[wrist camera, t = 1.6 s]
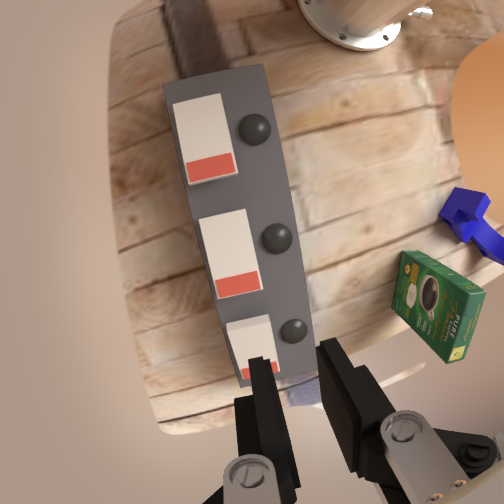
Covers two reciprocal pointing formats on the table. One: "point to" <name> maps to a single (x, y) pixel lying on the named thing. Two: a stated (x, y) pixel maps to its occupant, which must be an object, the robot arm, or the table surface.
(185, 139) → the rocker
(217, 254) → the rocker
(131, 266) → the table surface
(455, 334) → the coffee box
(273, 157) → the rocker switch panel
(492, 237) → the blue piece
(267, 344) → the rocker
